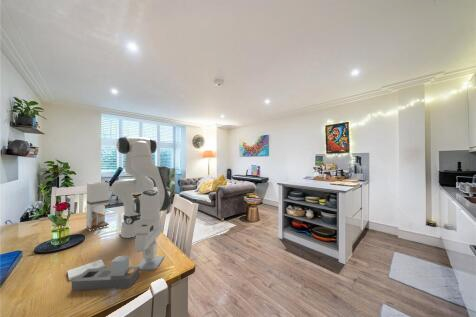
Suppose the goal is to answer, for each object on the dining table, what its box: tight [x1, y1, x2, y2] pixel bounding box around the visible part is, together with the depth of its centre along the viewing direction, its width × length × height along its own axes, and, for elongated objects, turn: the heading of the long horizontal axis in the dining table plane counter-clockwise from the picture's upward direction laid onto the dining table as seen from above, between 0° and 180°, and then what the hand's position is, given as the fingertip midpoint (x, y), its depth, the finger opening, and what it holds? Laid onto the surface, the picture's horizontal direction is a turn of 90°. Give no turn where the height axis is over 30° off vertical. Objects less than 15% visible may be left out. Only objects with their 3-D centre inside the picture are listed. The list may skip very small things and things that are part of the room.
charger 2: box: [142, 241, 158, 262], centre depth 85 cm, size 4×5×8 cm
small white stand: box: [85, 181, 110, 230], centre depth 134 cm, size 11×11×35 cm
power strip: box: [71, 266, 141, 292], centre depth 72 cm, size 8×22×4 cm, turn 94°
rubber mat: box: [135, 256, 165, 272], centre depth 85 cm, size 10×10×1 cm
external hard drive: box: [66, 259, 106, 282], centre depth 80 cm, size 2×8×12 cm
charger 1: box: [110, 255, 130, 276], centre depth 72 cm, size 4×5×6 cm
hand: (149, 251), depth 85 cm, fingers closed on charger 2, 4 cm apart
